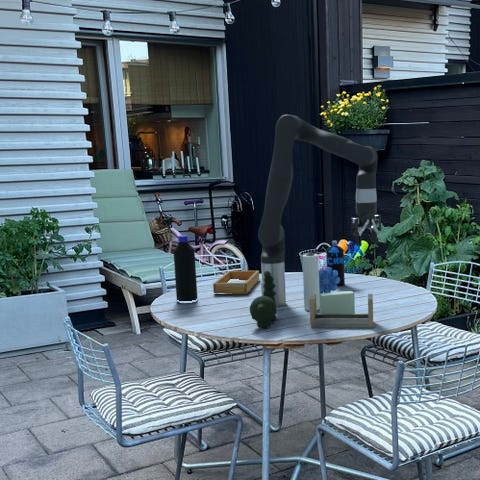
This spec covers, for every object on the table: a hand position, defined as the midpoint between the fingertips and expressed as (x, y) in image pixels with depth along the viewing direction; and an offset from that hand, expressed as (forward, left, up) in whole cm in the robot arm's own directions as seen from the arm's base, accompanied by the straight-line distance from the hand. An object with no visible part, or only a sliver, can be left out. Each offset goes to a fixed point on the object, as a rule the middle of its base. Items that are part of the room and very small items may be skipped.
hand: (366, 244), depth 232 cm
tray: (-59, +40, -26) cm, 75 cm away
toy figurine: (-36, -20, -25) cm, 48 cm away
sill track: (-9, -22, -25) cm, 34 cm away
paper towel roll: (-21, 0, -25) cm, 33 cm away
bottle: (-75, +13, -25) cm, 80 cm away
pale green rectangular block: (-11, -12, -25) cm, 30 cm away
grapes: (-17, +24, -25) cm, 39 cm away
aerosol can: (-14, +43, -25) cm, 52 cm away
